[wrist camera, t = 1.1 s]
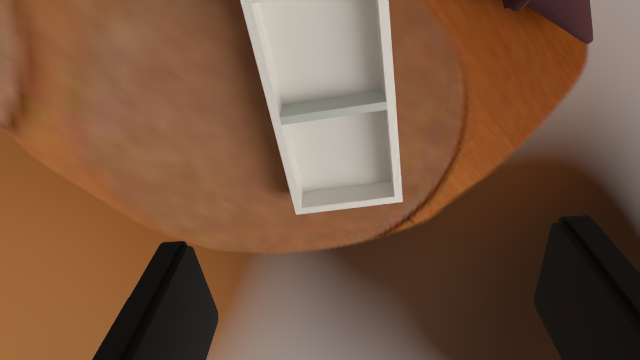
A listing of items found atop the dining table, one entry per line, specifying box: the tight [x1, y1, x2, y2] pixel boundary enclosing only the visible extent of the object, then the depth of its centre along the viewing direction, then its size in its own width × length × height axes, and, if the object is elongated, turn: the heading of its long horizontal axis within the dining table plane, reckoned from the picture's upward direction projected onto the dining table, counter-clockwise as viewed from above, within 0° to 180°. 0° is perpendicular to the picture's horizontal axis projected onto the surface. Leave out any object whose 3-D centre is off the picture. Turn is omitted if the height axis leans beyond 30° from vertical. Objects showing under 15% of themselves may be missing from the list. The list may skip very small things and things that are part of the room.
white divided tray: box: [240, 0, 403, 215], centre depth 38 cm, size 22×12×4 cm, turn 10°
